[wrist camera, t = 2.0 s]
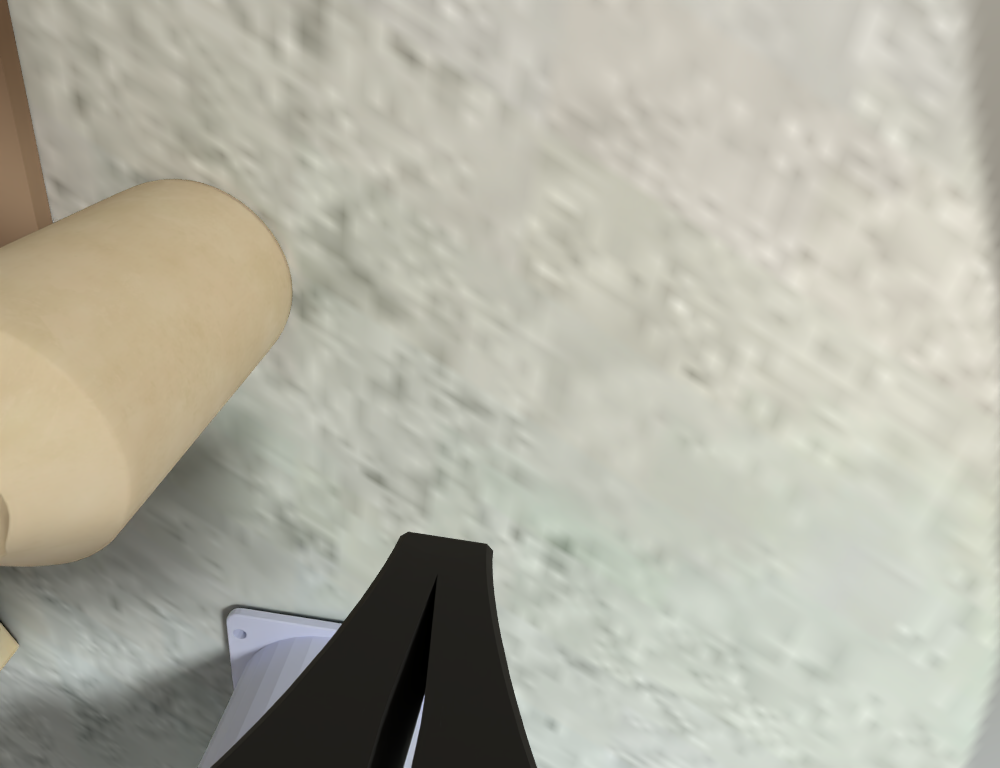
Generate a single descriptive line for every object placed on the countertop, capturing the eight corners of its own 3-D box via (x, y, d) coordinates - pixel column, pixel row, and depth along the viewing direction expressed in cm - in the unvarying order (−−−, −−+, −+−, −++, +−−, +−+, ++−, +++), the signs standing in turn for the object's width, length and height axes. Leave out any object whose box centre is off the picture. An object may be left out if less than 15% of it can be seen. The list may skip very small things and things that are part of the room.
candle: (115, 345, 21) (-202, 597, 12) (87, 160, 18) (-345, 318, 10) (296, 376, 21) (104, 649, 12) (295, 194, 18) (47, 384, 10)
